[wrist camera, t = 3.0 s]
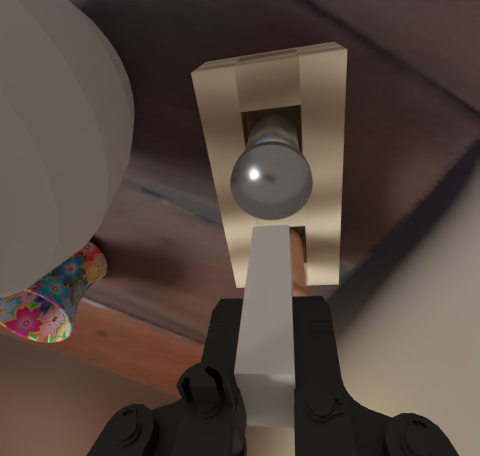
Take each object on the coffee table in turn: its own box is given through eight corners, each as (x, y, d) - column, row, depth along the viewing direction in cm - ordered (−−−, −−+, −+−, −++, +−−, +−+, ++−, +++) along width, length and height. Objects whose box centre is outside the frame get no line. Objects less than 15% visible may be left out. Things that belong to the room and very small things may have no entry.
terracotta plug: (256, 225, 31) (249, 291, 24) (306, 221, 30) (315, 289, 23) (261, 262, 33) (257, 332, 26) (307, 260, 33) (315, 331, 25)
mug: (120, 246, 42) (79, 309, 33) (104, 288, 47) (64, 352, 38) (28, 206, 39) (-43, 262, 31) (22, 254, 44) (-40, 315, 36)
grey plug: (239, 109, 25) (223, 151, 17) (301, 101, 24) (312, 141, 17) (247, 166, 27) (236, 222, 20) (303, 160, 27) (313, 217, 19)
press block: (206, 61, 28) (190, 72, 23) (334, 41, 26) (347, 49, 21) (241, 253, 40) (236, 287, 35) (330, 248, 38) (338, 284, 33)
